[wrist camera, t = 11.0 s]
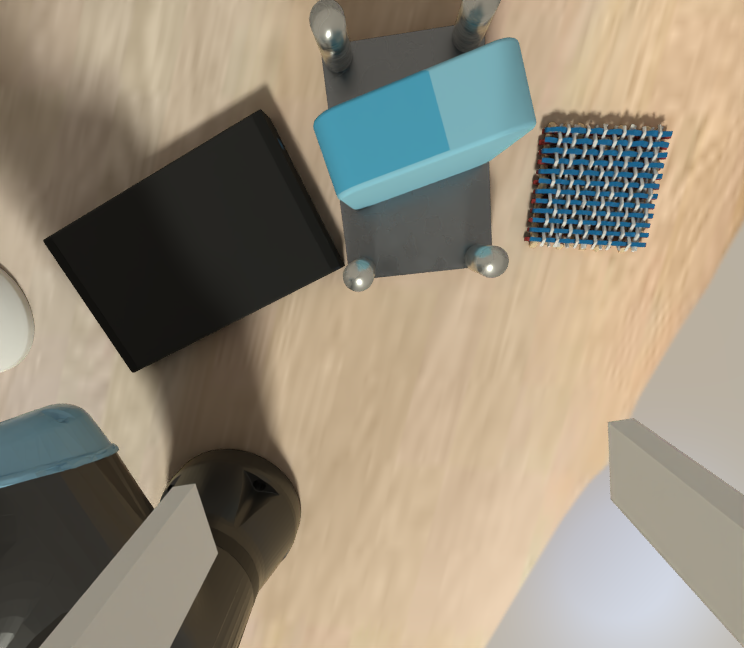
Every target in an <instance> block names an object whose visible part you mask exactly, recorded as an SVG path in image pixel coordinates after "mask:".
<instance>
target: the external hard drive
mask: <svg viewBox="0 0 744 648" xmlns="http://www.w3.org/2000/svg"><path fill="white" fill-rule="evenodd" d="M43 241H44V243H45V245H46V246H47V248H48V249H49V251H50V252H51V253H52V255H53V256H54V258H55V259H56V261H57V262H58V264H59V265H60V267H61V268H62V270H63V271H64V273H65V274H66V276H67V277H68V279H69V280H70V282H71V283H72V285H73V286H74V288H75V289H76V290H77V292H78V293H79V295H80V296H81V298H82V299H83V301H84V302H85V304H86V305H87V307H88V308H89V310H90V311H91V313H92V314H93V316H94V317H95V319H96V320H97V322H98V323H99V324H100V326H101V327H102V329H103V330H104V332H105V333H106V335H107V336H108V338H109V339H110V341H111V342H112V344H113V345H114V347H115V348H116V350H117V351H118V353H119V354H120V356H121V357H122V358H123V360H124V361H125V363H126V364H127V366H128V367H129V369H130V370H131V372H136V371H138V370H140V369H142V368H144V367H146V366H148V365H150V364H152V363H154V362H156V361H158V360H160V359H162V358H164V357H166V356H168V355H170V354H172V353H174V352H176V351H178V350H180V349H182V348H184V347H186V346H188V345H190V344H192V343H194V342H196V341H198V340H200V339H202V338H204V337H205V336H207V335H209V334H211V333H213V332H215V331H217V330H219V329H221V328H223V327H225V326H227V325H229V324H231V323H233V322H235V321H237V320H239V319H241V318H243V317H245V316H247V315H249V314H251V313H253V312H255V311H257V310H259V309H261V308H263V307H265V306H267V305H269V304H271V303H273V302H275V301H277V300H279V299H281V298H283V297H285V296H287V295H289V294H291V293H293V292H294V291H296V290H298V289H300V288H302V287H304V286H306V285H308V284H310V283H312V282H314V281H316V280H318V279H320V278H322V277H324V276H326V275H328V274H330V273H332V272H334V271H336V270H338V269H340V268H342V267H343V266H345V265H344V263H343V261H342V259H341V257H340V255H339V253H338V251H337V249H336V247H335V245H334V243H333V241H332V239H331V237H330V236H329V234H328V232H327V230H326V228H325V226H324V224H323V222H322V220H321V218H320V216H319V214H318V212H317V210H316V208H315V206H314V204H313V202H312V200H311V198H310V196H309V194H308V192H307V190H306V188H305V186H304V184H303V182H302V180H301V178H300V176H299V175H298V173H297V171H296V169H295V167H294V165H293V163H292V161H291V159H290V157H289V155H288V153H287V151H286V149H285V147H284V145H283V143H282V141H281V139H280V137H279V135H278V133H277V131H276V129H275V127H274V125H273V123H272V121H271V120H270V118H269V117H268V116H267V115H266V114H265V113H264V112H263V111H262V110H261V109H260V110H258V111H256V112H255V113H253V114H252V115H250V116H248V117H246V118H245V119H243V120H241V121H240V122H238V123H236V124H235V125H233V126H231V127H230V128H228V129H226V130H225V131H223V132H222V133H220V134H218V135H217V136H215V137H213V138H212V139H210V140H208V141H207V142H205V143H203V144H202V145H200V146H198V147H197V148H195V149H193V150H192V151H190V152H188V153H187V154H185V155H183V156H182V157H180V158H178V159H177V160H175V161H173V162H172V163H170V164H168V165H167V166H165V167H164V168H162V169H160V170H159V171H157V172H155V173H154V174H152V175H150V176H149V177H147V178H145V179H144V180H142V181H140V182H139V183H137V184H135V185H134V186H132V187H130V188H129V189H127V190H125V191H124V192H122V193H120V194H119V195H117V196H115V197H114V198H112V199H111V200H109V201H107V202H106V203H104V204H102V205H101V206H99V207H97V208H96V209H94V210H92V211H91V212H89V213H87V214H86V215H84V216H82V217H81V218H79V219H77V220H76V221H74V222H72V223H71V224H69V225H67V226H66V227H64V228H62V229H61V230H59V231H57V232H56V233H54V234H53V235H51V236H49V237H48V238H46V239H44V240H43Z"/></svg>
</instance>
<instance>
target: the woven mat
mask: <svg viewBox="0 0 744 648" xmlns="http://www.w3.org/2000/svg"><path fill="white" fill-rule="evenodd" d="M562 126H563V127H562ZM598 126H599V125H596V126H595V128H593V129H591V128H590V125H588V124H587V129H586V128H585V126H584V124H582V123H578V124H577V125H574V128H571V127H570V124H564V125H563V124H560V126H559V127H557V125H556V124H555V123H554V122H551V123H549V124H548V126H547V128H545V129H543V130H542V134H545V139H544V140H539V145H543V149H542V150H539V154H542V158H541V160H538V163H537V164H540V169H539V170H537V171H536V174H539V180H534V181H533V184H536V185H538V188H537V189H534V190H533V194H536V197H535V199H532V201H531V203H533V204H534V208H531V209H530V213H533V217H532V218H529V220H528V222H532V223H531V227H530V228H529V227H528V228H527V231H528V232H530V236H531V237H525V238H524V241H530V244H529V247H530V248H535V247H536V246H537V244H538V242H541V244H540V246H542V247H543V245H547V247H551V246H550V242H555V243H554V246H553V247H556V249H562V248H563V247H564V243H565V246H566V248H569V246H573V244H574V246H573V248H576V246H577V244H580V246H579V250H586V247H587V244H593V245H592V246H591V249H592V250H594V251H595V252H597V251H599V250H602V247H603V245H605V247H606V248H605V250H608V249H610V248H611V245H612V246H617V250H618V252H619V253H623V252H625V251H627V250H628V248H629V247H630V249H631V252H634V251H637V247H646V243H639V238H640V237H644V238H647V237H648V236H649V233H642V232H643V231H644V230H645V228H650V223H646V219H652V218H653V215H654V214H648V209H654V206H655V204H649V202H650V200H655V199H657V197H658V194H653V189H654V190H658V189H659V186H660V184H655V183H654V181H655V180H661V179H662V175H663V174H658V171H659V170H660V169H661V168H664V164H663V163H660V161H659V159H666V157H667V154H668V152H665V153H659V149H661V150H667V148H668V146H669V143H668V142H663V141H661V139H669V138H671V136H672V132H673V131H662V130H663V128H664V127H661V124H659V125H658V128H657V130H654V129H655V128H654V127H652V128H651V127H649V126H644V127H642V131H640V130H636V127H637V126H635V124H631V126H630V127H629V129H628V130H626V125H625V126H623V125H620V126H615V127H614V129H611V130H608V129H607V127H608V126H609V125H608V124H604V127H603V128H598ZM553 134H557V135H558V138H554V137H553ZM569 135H570V136H572V138H570V137H568V136H569ZM584 136H585V137H584ZM597 136H600V140H598V139H597ZM583 137H584V138H583ZM610 137H612V138H613V140H611V139H610ZM624 137H626V140H623V139H624ZM634 138H636V139H639V141H634ZM652 139H654V140H653V141H652ZM551 145H556V148H551ZM567 145H570V149H568V147H567ZM579 146H583V150H582V149H579ZM595 147H596V148H599V149H598V150H596V149H595ZM609 148H611V149H610V150H608V149H609ZM622 148H624V151H623V149H622ZM634 148H637V152H635V150H634ZM645 149H646V151H645ZM650 149H651V152H649V151H650ZM550 155H555V159H551V158H549V157H550ZM565 156H569V159H566V157H565ZM577 156H581V158H580V159H577ZM593 157H596V158H595V161H594V158H593ZM604 157H608V159H609V160H608V161H605V160H603V159H604ZM619 159H623V161H619ZM633 159H635V161H634V162H632V161H633ZM643 159H644V163H643ZM648 159H649V160H648ZM548 165H552V166H553V168H552V169H548ZM575 166H579V170H575ZM565 167H567V168H566V170H564V168H565ZM591 167H594V169H593V170H591ZM603 167H607V169H606V171H605V172H604V168H603ZM618 168H620V170H619V171H618ZM628 168H630V169H633V171H632V173H630V172H627V171H628ZM641 169H642V171H641ZM646 170H647V172H646V173H645V171H646ZM548 175H551V176H552V179H549V177H548ZM562 176H564V180H563V179H561V177H562ZM573 177H577V179H576V180H574V178H573ZM590 177H592V179H591V181H590ZM602 177H604V178H605V182H603V181H601V179H602ZM616 178H617V181H616V182H615V179H616ZM628 179H631V180H630V183H629V182H628ZM639 179H640V184H639V183H638V181H639ZM643 179H644V180H643ZM547 185H550V187H549V189H546V187H547ZM560 185H562V190H560ZM573 186H575V188H576V191H575V190H574V188H573ZM588 187H589V189H588V190H587V188H588ZM600 188H603V189H602V191H601V192H600ZM626 188H628V191H629V193H624V192H625V190H626ZM614 189H615V192H614ZM641 190H642V192H641ZM640 192H641V193H640ZM544 194H548V199H543V195H544ZM559 196H560V197H559ZM573 196H574V199H573V200H571V199H572V197H573ZM558 197H559V199H558ZM598 197H600V198H601V200H600V202H598ZM562 198H563V199H562ZM612 198H613V199H612ZM624 198H625V199H627V200H626V202H624ZM586 199H587V201H586ZM639 199H640V200H639ZM582 200H583V201H582ZM542 204H547V207H546V209H545V208H541V207H542ZM569 205H572V210H568V207H569ZM585 206H586V210H583V209H584V207H585ZM597 207H599V209H598V211H596V209H597ZM557 208H558V209H557ZM622 208H624V213H623V211H622ZM633 208H634V210H633V211H632V209H633ZM636 211H637V213H636ZM541 213H545V218H540V214H541ZM556 214H557V219H556ZM567 215H571V217H570V219H567ZM582 215H585V218H584V220H582ZM595 216H597V221H592V220H593V218H594V217H595ZM608 217H610V218H609V221H607V219H608ZM621 218H623V219H622V221H621V222H620V220H621ZM630 218H631V223H630ZM635 218H636V219H635ZM635 221H636V222H635ZM539 223H544V226H543V228H538V226H539ZM555 224H556V228H554V225H555ZM566 224H568V225H569V229H565V225H566ZM581 225H583V230H580V227H581ZM591 225H593V226H595V229H594V230H590V226H591ZM606 226H608V230H607V231H606ZM618 227H620V232H616V230H617V228H618ZM628 227H630V228H629V230H628ZM633 228H635V230H634V231H633V232H632V230H633ZM539 232H542V237H539ZM553 233H555V236H556V238H551V236H552V234H553ZM564 233H565V234H568V235H567V237H566V239H564V238H563V234H564ZM579 234H582V236H581V239H579ZM589 235H593V240H588V237H589ZM605 236H607V237H606V241H604V237H605ZM614 236H619V238H618V240H617V241H612V240H613V237H614ZM626 237H627V242H625V241H626ZM630 237H632V240H631V238H630Z"/></svg>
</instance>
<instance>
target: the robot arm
mask: <svg viewBox="0 0 744 648" xmlns="http://www.w3.org/2000/svg"><path fill="white" fill-rule="evenodd" d="M608 437H609V465H610V492H611V500H612V501H613V502H614V504H615V505H616V506H617V507H618V508H619V509H620V510H621V511H622V513H623V514H624V515H625V516H626V517H627V518H628V519H629V520H630V521H631V523H632V524H633V525H634V526H635V527H636V528H637V529H638V530H639V531H640V533H641V534H642V535H643V536H644V537H645V538H646V539H647V540H648V541H649V543H650V544H651V545H652V546H653V547H654V548H655V549H656V550H657V551H658V553H659V554H660V555H661V556H662V557H663V558H664V559H665V560H666V562H667V563H668V564H669V565H670V566H671V567H672V568H673V569H674V570H675V572H676V573H677V574H678V575H679V576H680V577H681V578H682V579H683V580H684V582H685V583H686V584H687V585H688V586H689V587H690V588H691V589H692V590H693V591H694V592H695V594H696V595H697V596H698V597H699V598H700V599H701V601H702V602H703V603H704V604H705V605H706V606H707V607H708V608H709V609H710V611H711V612H713V614H714V615H715V616H716V617H717V618H718V619H719V621H720V622H721V623H722V624H723V625H724V626H725V627H726V628H727V630H729V632H730V633H731V634H732V635H733V636H734V637H735V638H736V639H737V641H738V642H739V643H740V644H741V645H742V646H743V647H744V495H743V494H742V493H740V492H739V491H737V490H736V489H734V488H733V487H731V486H730V485H729V484H727V483H726V482H724V481H723V480H722V479H720V478H719V477H717V476H716V475H714V474H713V473H711V472H710V471H709V470H707V469H706V468H704V467H703V466H701V465H700V464H699V463H697V462H696V461H694V460H693V459H691V458H690V457H688V456H687V455H686V454H684V453H683V452H681V451H680V450H678V449H677V448H676V447H674V446H673V445H671V444H670V443H668V442H667V441H666V440H664V439H663V438H661V437H660V436H658V435H657V434H656V433H654V432H653V431H651V430H650V429H648V428H647V427H645V426H644V425H643V424H641V423H640V422H638V421H637V420H635V419H634V418H632V419H626V420H619V421H612V422H608ZM118 450H119V448H118V446H117V445H116V444H114V443H111V442H110V441H109V440H108V438H107V437H106V436H105V434H104V433H103V432H102V430H101V429H100V428H99V427H98V425H97V424H96V423H95V421H94V420H93V419H92V417H91V416H90V415H89V414H88V413H87V412H86V411H85V410H83V409H82V408H80V407H78V406H75V405H71V404H54V405H49V406H46V407H43V408H40V409H37V410H34V411H31V412H28V413H25V414H22V415H20V416H17V417H14V418H11V419H8V420H6V421H3V422H0V648H238V647H239V644H240V641H241V639H242V636H243V633H244V630H245V627H246V624H247V622H248V619H249V616H250V613H251V610H252V607H253V605H254V602H255V599H256V597H257V594H258V592H259V590H260V589H261V588H262V586H263V585H264V584H265V582H266V581H267V580H268V579H269V577H270V576H271V575H272V573H273V572H274V571H275V569H276V568H277V566H278V565H279V564H280V562H281V561H282V560H283V559H284V558H285V557H286V556H287V554H288V553H289V551H290V549H291V547H292V545H293V543H294V540H295V537H296V533H297V530H298V527H299V523H300V517H301V510H300V503H299V499H298V496H297V493H296V491H295V489H294V487H293V485H292V484H291V482H290V481H289V479H288V478H287V477H286V476H285V475H284V474H283V473H282V472H281V471H280V470H279V469H278V468H277V467H276V466H274V465H273V464H272V463H270V462H268V461H267V460H265V459H263V458H261V457H259V456H257V455H254V454H251V453H248V452H244V451H239V450H229V449H224V450H215V451H210V452H206V453H203V454H201V455H199V456H197V457H195V458H193V459H192V460H190V461H189V462H187V463H186V464H185V465H184V466H183V467H182V468H181V469H180V471H179V472H178V473H177V474H176V475H175V476H174V477H173V478H172V480H171V481H170V482H169V484H168V485H167V487H166V488H165V490H164V492H163V495H162V497H161V500H160V503H159V504H158V505H157V507H156V508H155V509H154V508H153V506H152V505H151V503H150V502H149V501H148V499H147V498H146V496H145V495H144V493H143V492H142V490H141V489H140V487H139V486H138V484H137V483H136V481H135V480H134V478H133V477H132V475H131V474H130V472H129V470H128V469H127V467H126V466H125V464H124V463H123V461H122V460H121V458H120V457H119V455H118V453H117V451H118Z"/></svg>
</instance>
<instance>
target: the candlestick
mask: <svg viewBox="0 0 744 648" xmlns="http://www.w3.org/2000/svg"><path fill="white" fill-rule="evenodd" d="M33 338H34V320H33V315H32V311H31V308H30V306H29V303H28V301H27V299H26V297H25V295H24V293H23V292H22V290H21V289H20V287H19V286H18V285H17V283H16V282H15V281H14V280H13V279H12V278H11V277H10V276H9V275H8V274H7V273H6V272H5V271H4V270H3V269H1V268H0V372H3V371H6V370H9V369H11V368H13V367H15V366H16V365H18V364H19V363H20V362H21V361H22V360H23V359H24V358H25V357H26V355H27V354H28V352H29V350H30V348H31V346H32V342H33Z"/></svg>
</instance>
